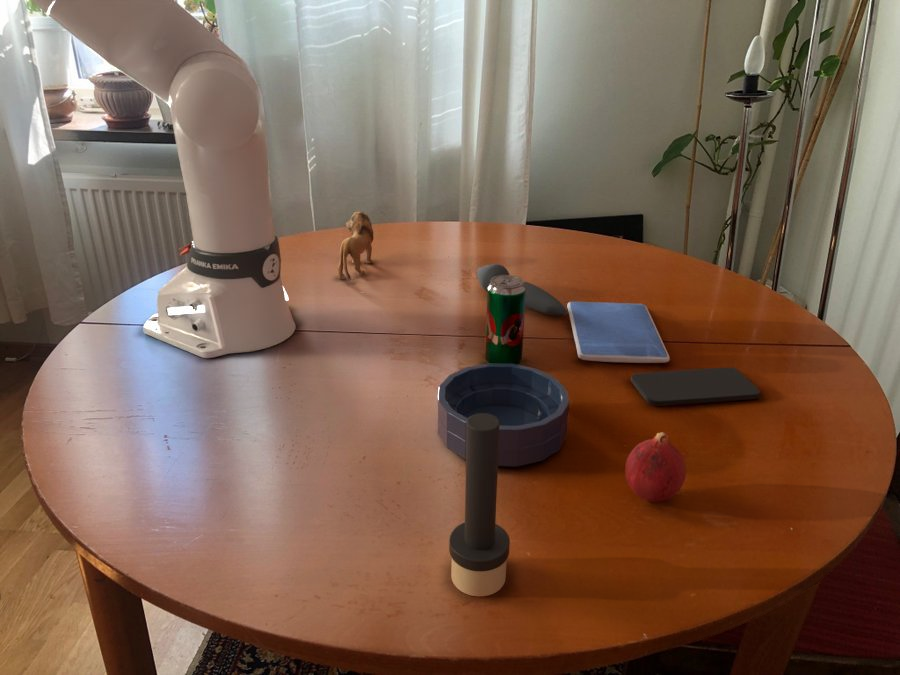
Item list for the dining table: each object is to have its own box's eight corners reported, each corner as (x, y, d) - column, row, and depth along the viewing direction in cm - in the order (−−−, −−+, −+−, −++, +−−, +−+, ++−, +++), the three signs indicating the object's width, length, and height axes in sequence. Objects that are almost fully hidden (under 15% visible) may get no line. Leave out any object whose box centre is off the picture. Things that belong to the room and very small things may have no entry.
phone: (764, 394, 93) (651, 402, 91) (762, 399, 93) (650, 408, 91) (734, 366, 99) (628, 373, 97) (733, 371, 100) (627, 378, 98)
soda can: (526, 357, 103) (531, 277, 98) (514, 373, 99) (518, 290, 94) (493, 350, 105) (496, 271, 100) (479, 366, 101) (481, 284, 96)
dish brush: (439, 587, 64) (439, 430, 57) (462, 549, 69) (465, 399, 62) (495, 606, 63) (502, 446, 55) (515, 565, 67) (525, 412, 60)
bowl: (416, 452, 83) (416, 410, 80) (467, 392, 95) (468, 354, 92) (542, 486, 77) (545, 442, 75) (579, 417, 89) (583, 378, 87)
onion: (669, 526, 72) (681, 458, 68) (613, 506, 74) (621, 439, 71) (686, 494, 76) (698, 429, 73) (632, 476, 79) (641, 412, 75)
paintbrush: (578, 313, 117) (581, 283, 115) (561, 323, 114) (563, 293, 111) (481, 281, 129) (482, 254, 126) (463, 290, 125) (463, 262, 123)
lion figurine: (349, 254, 141) (346, 208, 137) (376, 255, 140) (375, 209, 136) (334, 283, 127) (331, 233, 123) (365, 284, 127) (363, 234, 123)
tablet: (566, 307, 119) (566, 299, 118) (645, 309, 118) (646, 301, 118) (578, 363, 102) (578, 355, 101) (670, 366, 101) (672, 358, 100)
